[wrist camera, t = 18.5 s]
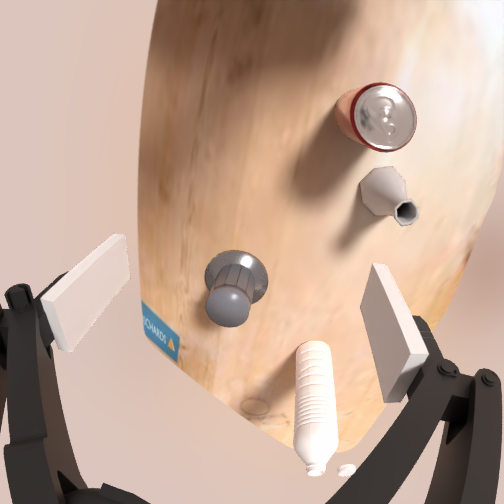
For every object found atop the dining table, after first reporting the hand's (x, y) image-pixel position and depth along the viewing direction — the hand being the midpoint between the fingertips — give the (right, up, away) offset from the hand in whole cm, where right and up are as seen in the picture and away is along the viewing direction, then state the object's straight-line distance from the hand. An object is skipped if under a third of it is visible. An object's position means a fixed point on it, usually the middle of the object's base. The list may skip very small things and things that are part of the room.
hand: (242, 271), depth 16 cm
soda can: (+15, +19, +21) cm, 32 cm away
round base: (-2, -3, +34) cm, 34 cm away
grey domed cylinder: (-2, -4, +33) cm, 34 cm away
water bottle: (+13, -18, +39) cm, 45 cm away
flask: (+19, +10, +25) cm, 33 cm away
